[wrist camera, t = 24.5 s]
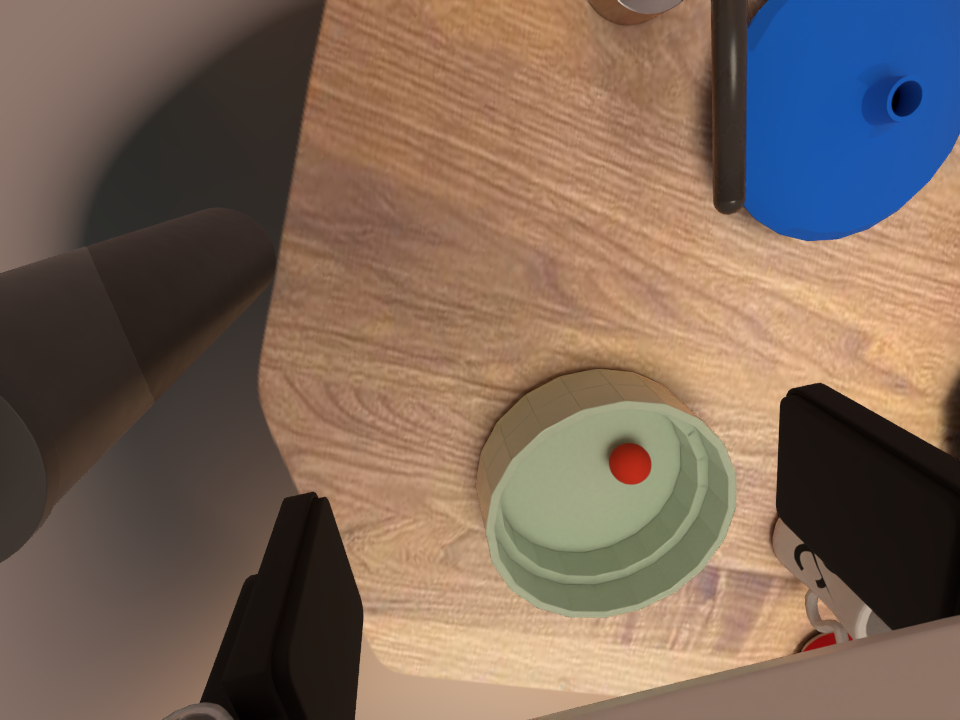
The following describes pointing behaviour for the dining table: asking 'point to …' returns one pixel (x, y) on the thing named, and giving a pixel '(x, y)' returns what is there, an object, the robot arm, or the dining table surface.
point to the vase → (847, 110)
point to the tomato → (630, 463)
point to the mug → (825, 590)
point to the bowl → (602, 495)
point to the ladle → (729, 24)
